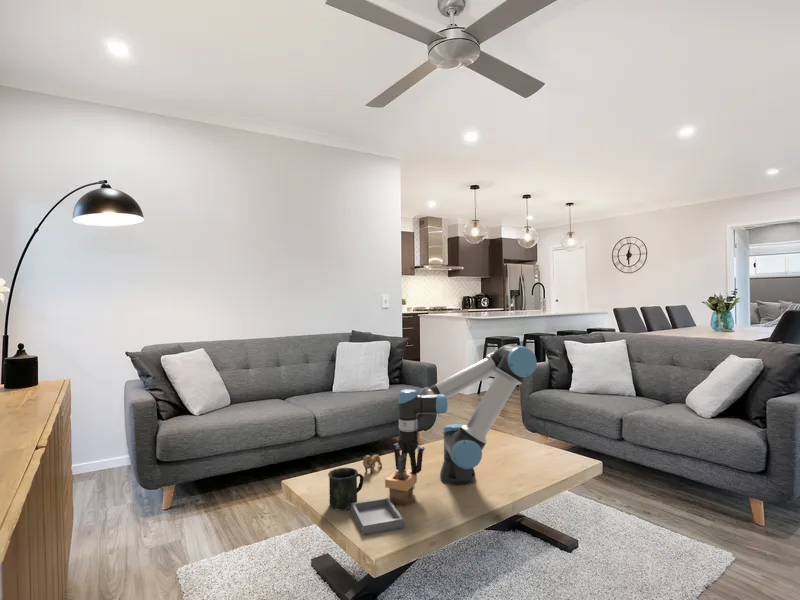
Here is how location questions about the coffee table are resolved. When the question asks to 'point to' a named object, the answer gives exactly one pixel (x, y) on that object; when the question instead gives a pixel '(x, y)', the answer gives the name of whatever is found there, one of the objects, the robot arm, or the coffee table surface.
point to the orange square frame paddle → (401, 481)
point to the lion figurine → (371, 462)
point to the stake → (398, 495)
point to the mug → (343, 487)
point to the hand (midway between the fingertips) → (408, 488)
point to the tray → (377, 516)
